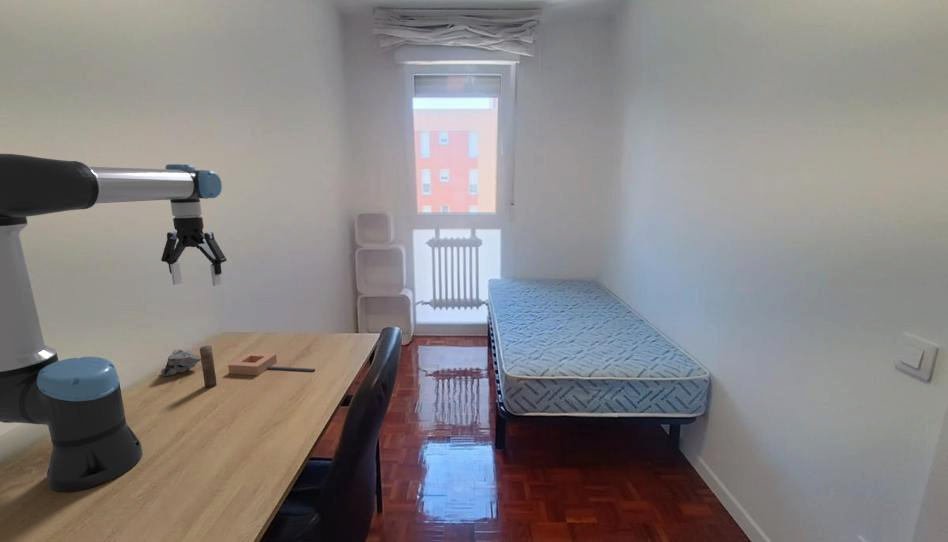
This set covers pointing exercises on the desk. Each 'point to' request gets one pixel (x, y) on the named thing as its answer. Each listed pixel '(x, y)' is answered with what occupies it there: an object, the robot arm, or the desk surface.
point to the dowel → (208, 366)
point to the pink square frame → (252, 363)
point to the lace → (290, 368)
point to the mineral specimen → (180, 362)
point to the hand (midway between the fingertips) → (197, 284)
